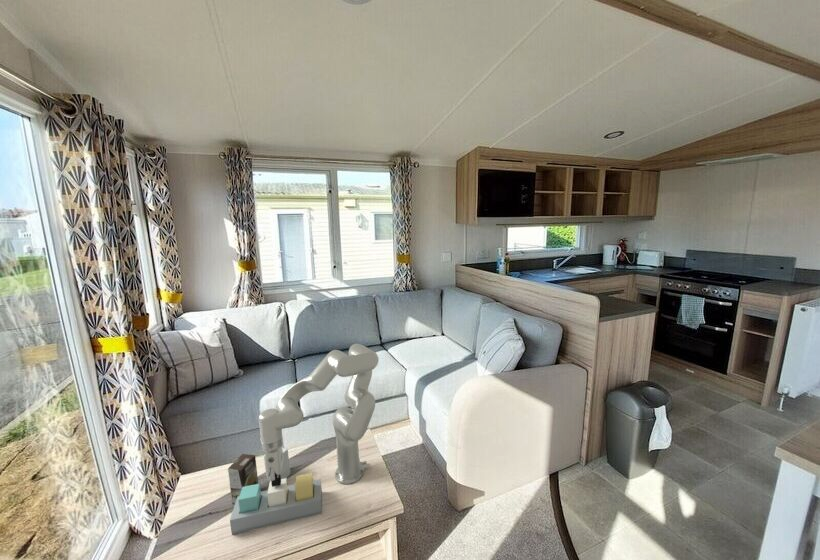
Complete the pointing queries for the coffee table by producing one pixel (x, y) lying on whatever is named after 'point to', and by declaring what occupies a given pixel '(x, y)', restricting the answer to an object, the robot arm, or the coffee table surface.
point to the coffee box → (242, 474)
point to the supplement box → (285, 467)
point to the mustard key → (304, 487)
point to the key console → (277, 510)
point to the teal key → (250, 498)
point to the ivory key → (278, 493)
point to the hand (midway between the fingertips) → (276, 484)
